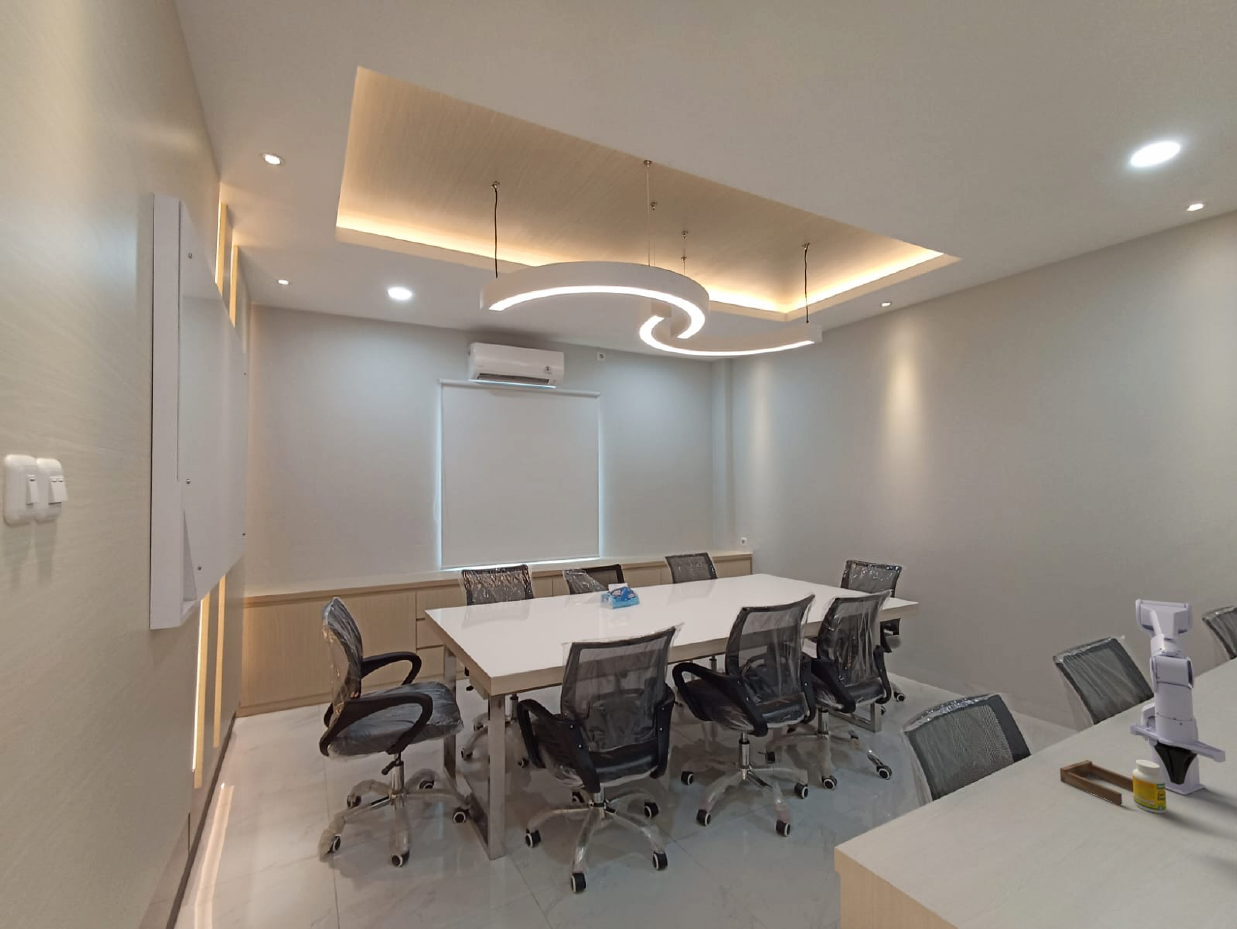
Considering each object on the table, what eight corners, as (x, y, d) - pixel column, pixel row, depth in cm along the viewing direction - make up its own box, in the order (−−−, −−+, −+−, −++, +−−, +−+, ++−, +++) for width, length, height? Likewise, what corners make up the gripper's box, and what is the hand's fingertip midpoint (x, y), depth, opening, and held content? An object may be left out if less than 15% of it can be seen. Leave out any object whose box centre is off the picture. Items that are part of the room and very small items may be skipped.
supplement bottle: (1138, 798, 130) (1136, 755, 131) (1169, 809, 126) (1167, 765, 126) (1130, 805, 127) (1128, 762, 128) (1162, 817, 123) (1160, 771, 123)
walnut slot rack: (1087, 772, 142) (1087, 760, 143) (1147, 795, 131) (1146, 782, 132) (1060, 780, 138) (1060, 768, 138) (1119, 805, 127) (1118, 792, 127)
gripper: (1120, 706, 123) (1123, 770, 122) (1210, 732, 110) (1214, 804, 109) (1139, 701, 126) (1142, 764, 125) (1229, 726, 112) (1233, 796, 112)
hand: (1177, 782), depth 117 cm, fingers closed
